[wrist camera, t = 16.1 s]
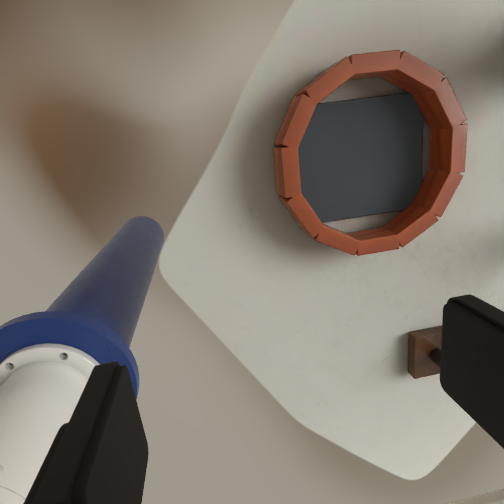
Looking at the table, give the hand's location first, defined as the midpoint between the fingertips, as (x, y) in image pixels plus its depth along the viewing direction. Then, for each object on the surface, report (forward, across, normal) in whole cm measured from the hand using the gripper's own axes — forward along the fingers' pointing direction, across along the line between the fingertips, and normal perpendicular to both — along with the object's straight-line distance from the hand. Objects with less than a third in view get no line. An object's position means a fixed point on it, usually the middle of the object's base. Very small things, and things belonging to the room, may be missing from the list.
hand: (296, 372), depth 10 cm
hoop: (+28, -15, -3) cm, 32 cm away
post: (+28, -24, +22) cm, 43 cm away
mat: (+28, -15, -3) cm, 32 cm away
